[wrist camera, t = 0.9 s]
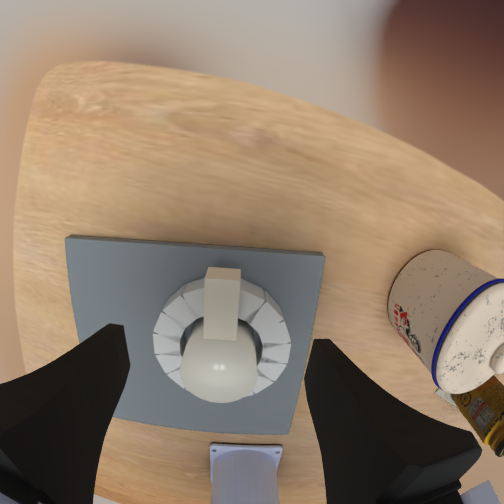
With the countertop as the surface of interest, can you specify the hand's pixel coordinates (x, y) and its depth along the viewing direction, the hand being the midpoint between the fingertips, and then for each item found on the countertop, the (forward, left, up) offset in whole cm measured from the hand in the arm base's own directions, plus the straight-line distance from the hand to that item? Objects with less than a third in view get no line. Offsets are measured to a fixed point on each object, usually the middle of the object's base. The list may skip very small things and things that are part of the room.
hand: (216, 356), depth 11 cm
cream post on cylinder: (-4, 0, -11) cm, 12 cm away
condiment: (-14, -30, -12) cm, 35 cm away
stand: (-8, +3, -12) cm, 15 cm away
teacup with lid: (-3, -19, -12) cm, 23 cm away
